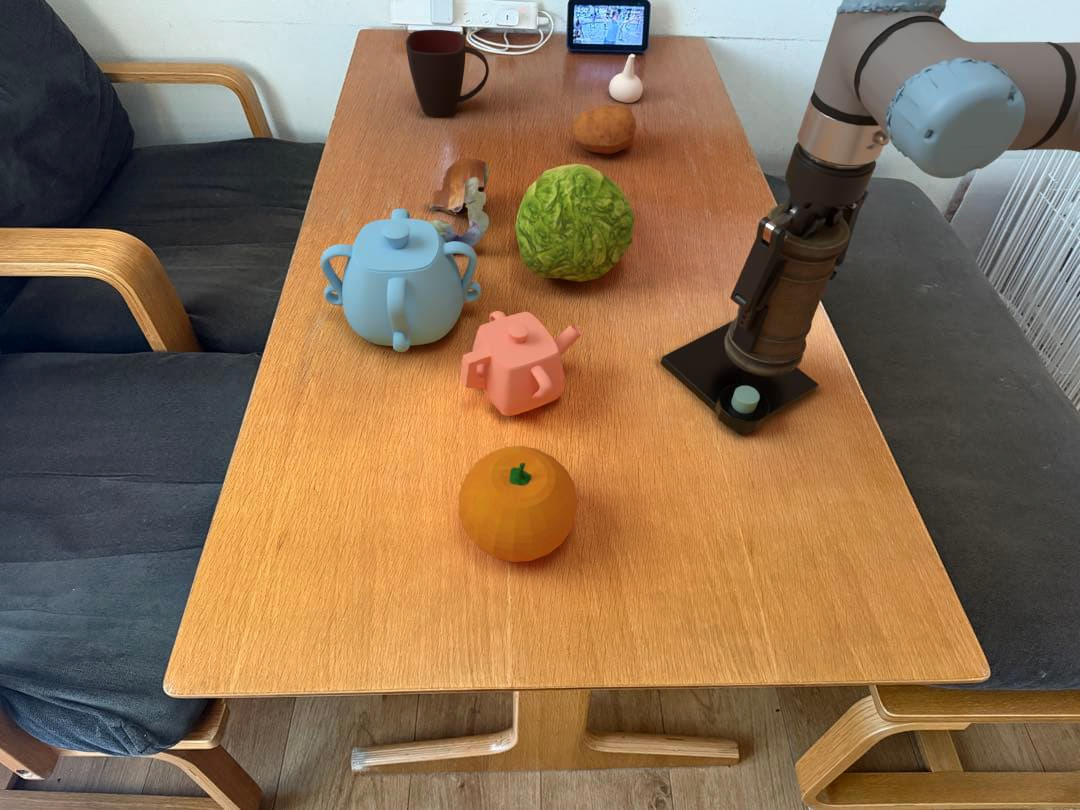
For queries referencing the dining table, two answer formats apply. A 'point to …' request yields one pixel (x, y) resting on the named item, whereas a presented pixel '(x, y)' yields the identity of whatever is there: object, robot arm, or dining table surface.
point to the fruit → (518, 503)
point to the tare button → (745, 399)
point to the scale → (733, 382)
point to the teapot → (517, 362)
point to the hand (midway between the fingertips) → (768, 331)
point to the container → (791, 301)
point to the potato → (604, 128)
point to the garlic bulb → (626, 84)
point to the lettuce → (573, 224)
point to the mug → (440, 70)
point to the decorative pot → (401, 282)
